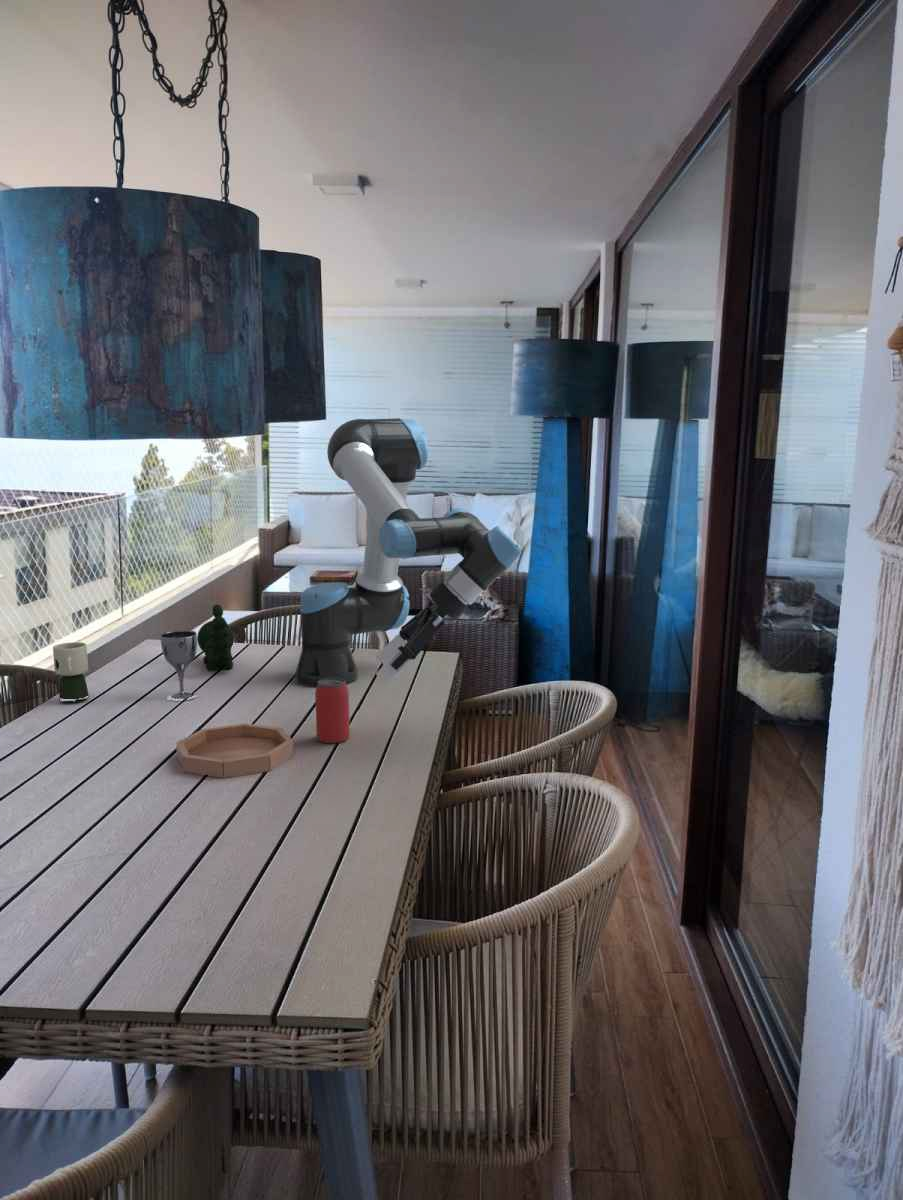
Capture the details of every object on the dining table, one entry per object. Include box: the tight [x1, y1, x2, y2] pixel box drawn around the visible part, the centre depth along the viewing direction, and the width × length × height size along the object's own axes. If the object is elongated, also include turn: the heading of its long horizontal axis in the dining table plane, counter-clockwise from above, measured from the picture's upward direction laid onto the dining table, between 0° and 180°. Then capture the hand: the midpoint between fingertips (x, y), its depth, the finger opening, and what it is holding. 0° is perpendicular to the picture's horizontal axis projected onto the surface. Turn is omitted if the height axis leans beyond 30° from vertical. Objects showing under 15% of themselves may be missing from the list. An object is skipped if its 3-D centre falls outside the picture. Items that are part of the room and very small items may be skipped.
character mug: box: [52, 641, 89, 699], centre depth 216 cm, size 11×7×13 cm, turn 15°
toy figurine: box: [197, 603, 235, 672], centre depth 246 cm, size 9×19×25 cm
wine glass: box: [160, 629, 198, 699], centre depth 219 cm, size 8×8×15 cm
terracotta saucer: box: [175, 723, 294, 779], centre depth 181 cm, size 20×20×3 cm
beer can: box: [314, 678, 351, 744], centre depth 190 cm, size 7×7×12 cm
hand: (380, 669), depth 188 cm, fingers open, 13 cm apart
